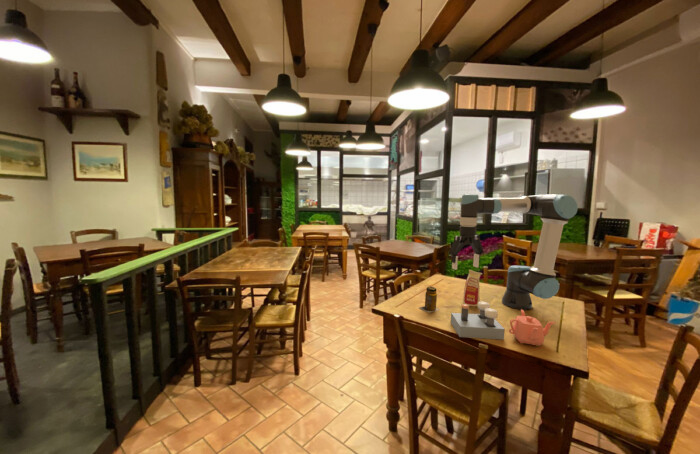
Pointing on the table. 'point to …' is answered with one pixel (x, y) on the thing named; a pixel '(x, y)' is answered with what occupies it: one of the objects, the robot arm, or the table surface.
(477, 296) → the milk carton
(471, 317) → the mount
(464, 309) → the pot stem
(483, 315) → the knob
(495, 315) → the knob
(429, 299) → the condiment
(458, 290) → the table surface
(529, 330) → the teapot
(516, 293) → the robot arm
